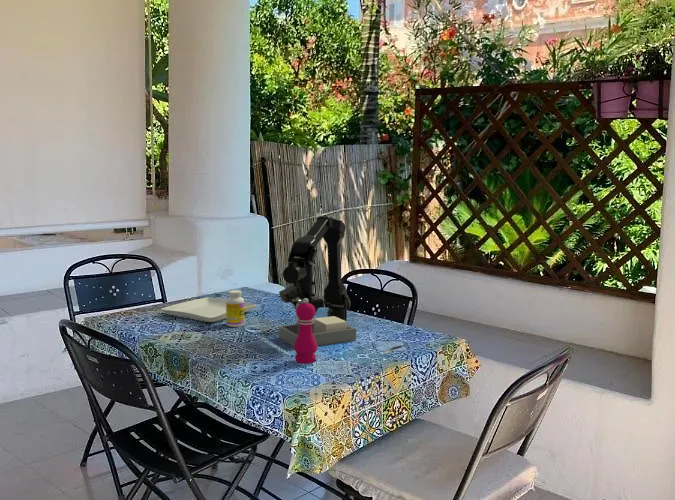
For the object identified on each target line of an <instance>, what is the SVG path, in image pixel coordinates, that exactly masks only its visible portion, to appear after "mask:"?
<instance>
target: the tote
mask: <svg viewBox="0 0 675 500" xmlns="http://www.w3.org/2000/svg"><path fill="white" fill-rule="evenodd" d="M312 333H313V336H314V338H315V340H316V343H317V347H319V346H325V345H327V346H328V345H333V344H339V343H347V342H355V341H357V328H355V327H354V326H351V325H349V324H347V329H345V330H337V331H330V332H322V333H315V334H314V323H313V324H312ZM297 336H298V333H296V323H294V324H286V325H278V338H279V339H280V340H282V341H284V342H285V343H287V344H289V345H290V346H292V347H294V344H295V341H296V339H297Z"/></svg>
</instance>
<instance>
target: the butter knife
mask: <svg viewBox="0 0 675 500" xmlns="http://www.w3.org/2000/svg"><path fill="white" fill-rule="evenodd" d="M405 345H406V344H405ZM405 345H404V344H403V345H397V346H394V347H391V348H390V349H387V350H386V351H383V352H382V353H383V354H387V353H389V352H392V351H395V350H398V349H401V348H403V347H402V346H404V347H406V346H405Z"/></svg>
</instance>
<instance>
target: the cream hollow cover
mask: <svg viewBox="0 0 675 500" xmlns="http://www.w3.org/2000/svg"><path fill="white" fill-rule="evenodd" d="M313 319H314V320H313V322H314V334H315V333H322V332H330V331H337V330H345V329H347V325H348V322H347V321H344V320H342V319H340V318H337V317H335V316H331V317H327V316H324V317H317V318H313Z"/></svg>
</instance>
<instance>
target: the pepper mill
mask: <svg viewBox="0 0 675 500" xmlns="http://www.w3.org/2000/svg"><path fill="white" fill-rule="evenodd" d="M308 302H309V301H308V299H307V298H304V299H303V303H301V304H299V305H298V306H297V308H296V310H295V315H296V314H297V316H298V317H299V318H298V324H299V334H298V336H297V339H296V341H295V344H294V346H293V350H294V351H295V352H296V354H295V362H296V363H298V364H305V365H306V364H307V365H308V364H312V363H315V362H316V358H317V357H316V354H315V353H316V351H317V350H318V346H317V343H316V340H315V338H314V336H313V333H312V324H313V323H314V319H315V318H314V317H315V315H316V313H315V307H314V306H313V305H312V304H310V303H308ZM313 316H314V317H313Z"/></svg>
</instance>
